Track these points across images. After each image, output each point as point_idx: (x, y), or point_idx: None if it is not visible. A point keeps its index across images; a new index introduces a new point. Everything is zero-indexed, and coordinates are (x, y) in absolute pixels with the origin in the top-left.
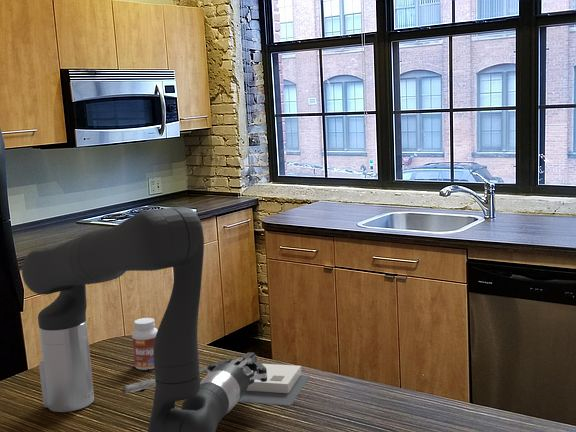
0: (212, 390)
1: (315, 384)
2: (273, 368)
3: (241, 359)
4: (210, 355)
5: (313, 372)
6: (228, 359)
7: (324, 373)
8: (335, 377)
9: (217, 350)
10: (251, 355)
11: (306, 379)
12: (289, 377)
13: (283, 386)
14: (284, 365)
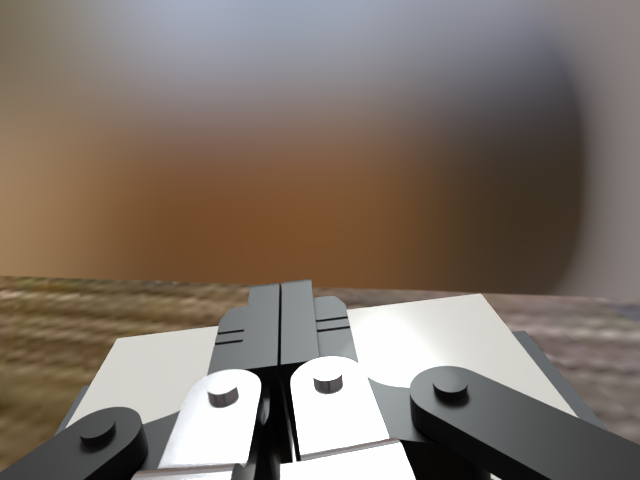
0: None
1: (600, 375)
2: (365, 337)
3: (246, 401)
4: (23, 310)
5: (491, 306)
6: (63, 441)
7: (541, 302)
8: (616, 312)
9: (53, 285)
10: (313, 313)
11: (539, 356)
12: (534, 389)
13: None
14: (401, 307)
